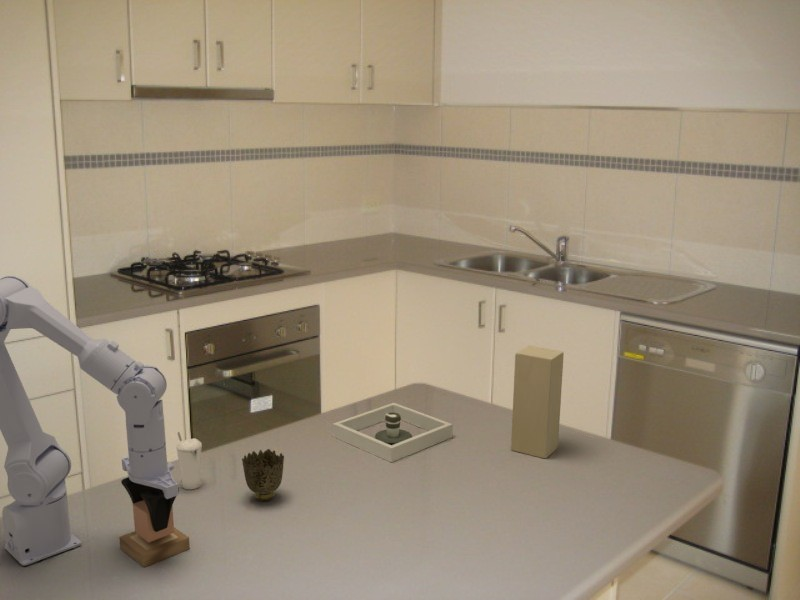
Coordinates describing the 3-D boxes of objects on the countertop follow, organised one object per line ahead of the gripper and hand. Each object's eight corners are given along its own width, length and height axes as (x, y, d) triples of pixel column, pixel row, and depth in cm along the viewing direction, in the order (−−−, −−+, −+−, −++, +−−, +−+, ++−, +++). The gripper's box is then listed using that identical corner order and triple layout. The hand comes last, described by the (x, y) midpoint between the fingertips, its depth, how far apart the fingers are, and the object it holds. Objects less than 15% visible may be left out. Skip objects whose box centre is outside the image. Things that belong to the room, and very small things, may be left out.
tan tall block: (560, 446, 177) (565, 350, 172) (546, 459, 171) (551, 359, 166) (525, 438, 181) (528, 344, 176) (510, 450, 175) (513, 353, 170)
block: (148, 542, 134) (146, 513, 133) (134, 532, 137) (132, 503, 136) (174, 532, 137) (172, 504, 136) (160, 522, 140) (158, 494, 139)
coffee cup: (421, 447, 176) (421, 425, 174) (363, 447, 176) (362, 425, 175) (420, 425, 187) (420, 404, 186) (366, 425, 187) (365, 404, 186)
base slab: (144, 567, 132) (143, 555, 132) (120, 548, 138) (119, 536, 137) (189, 548, 137) (189, 537, 137) (164, 530, 143) (163, 519, 142)
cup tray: (391, 462, 169) (391, 448, 169) (333, 436, 182) (333, 423, 181) (452, 437, 181) (452, 424, 181) (393, 415, 194) (393, 402, 193)
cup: (293, 497, 155) (292, 457, 153) (261, 511, 149) (259, 469, 147) (268, 485, 160) (266, 445, 158) (235, 498, 154) (233, 457, 152)
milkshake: (191, 477, 163) (188, 428, 160) (209, 485, 160) (206, 435, 157) (171, 485, 159) (168, 435, 157) (189, 493, 156) (185, 443, 154)
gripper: (193, 451, 131) (198, 531, 134) (147, 425, 141) (153, 500, 144) (151, 464, 126) (158, 547, 129) (107, 437, 136) (114, 514, 139)
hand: (152, 523), depth 136 cm, fingers closed on block, 4 cm apart
